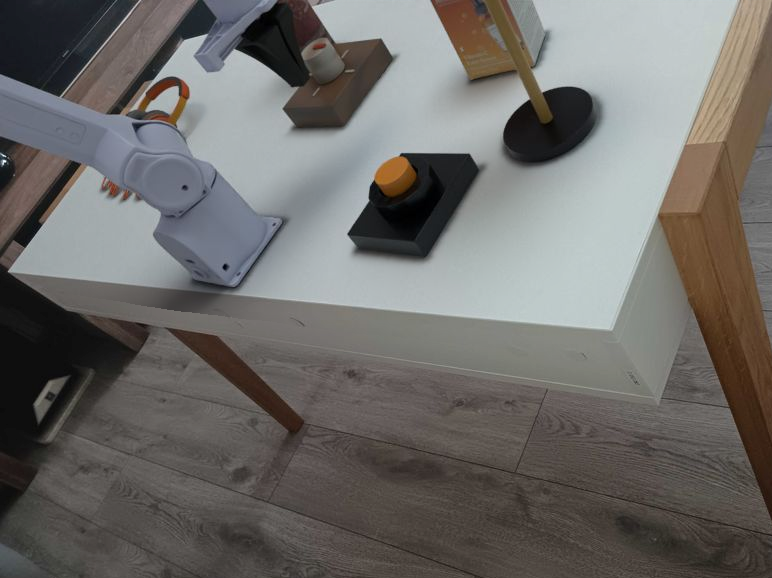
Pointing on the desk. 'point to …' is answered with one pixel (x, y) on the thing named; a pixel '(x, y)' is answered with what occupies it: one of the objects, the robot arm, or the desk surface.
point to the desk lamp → (541, 107)
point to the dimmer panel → (340, 86)
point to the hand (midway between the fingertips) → (301, 82)
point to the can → (306, 23)
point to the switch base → (415, 205)
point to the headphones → (157, 111)
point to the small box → (489, 34)
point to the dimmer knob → (322, 61)
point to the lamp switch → (395, 176)
